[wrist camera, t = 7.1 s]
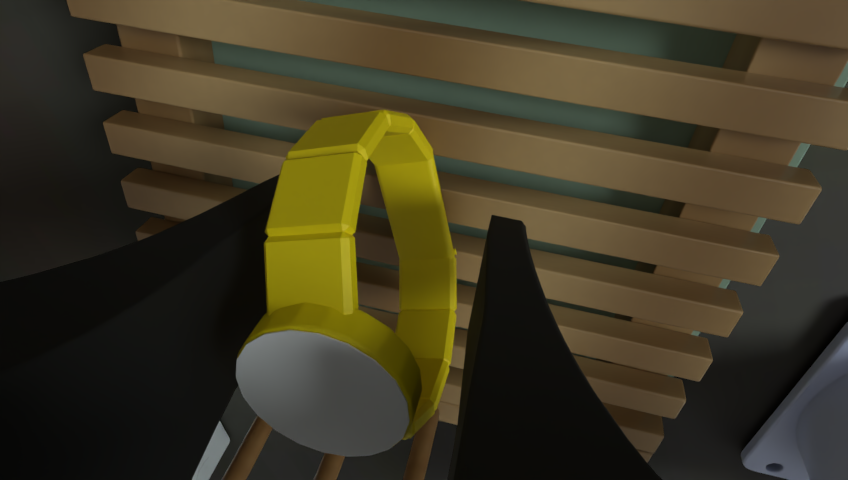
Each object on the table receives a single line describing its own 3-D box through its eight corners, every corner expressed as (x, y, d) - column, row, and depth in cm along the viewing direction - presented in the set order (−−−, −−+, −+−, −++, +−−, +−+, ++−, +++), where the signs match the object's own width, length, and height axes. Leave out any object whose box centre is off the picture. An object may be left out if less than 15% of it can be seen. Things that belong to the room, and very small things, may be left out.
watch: (495, 293, 14) (453, 525, 9) (393, 296, 15) (310, 509, 10) (447, 62, 11) (348, 240, 6) (321, 82, 12) (148, 252, 7)
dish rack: (930, -92, 10) (1369, 2, 4) (648, 404, 19) (677, 634, 14) (91, -193, 12) (-320, -215, 6) (201, 299, 21) (70, 461, 16)
